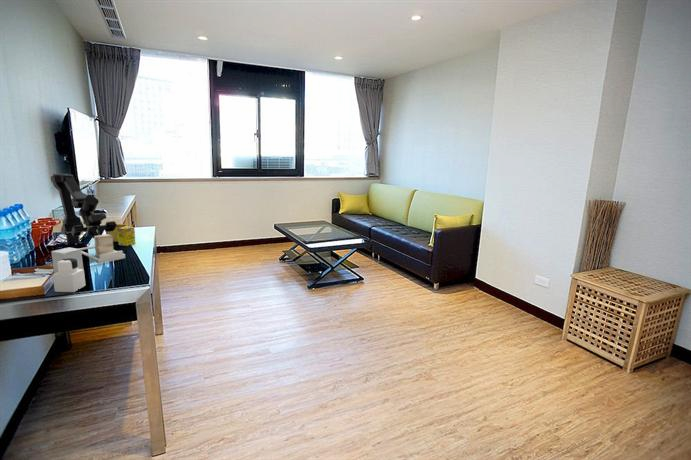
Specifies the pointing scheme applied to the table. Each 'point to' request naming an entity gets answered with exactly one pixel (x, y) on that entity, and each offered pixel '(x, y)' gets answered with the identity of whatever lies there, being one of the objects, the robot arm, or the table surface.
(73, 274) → the white stepped block
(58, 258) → the supplement box
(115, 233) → the plant pot
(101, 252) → the birch block
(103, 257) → the tray
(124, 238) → the supplement box
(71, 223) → the robot arm
